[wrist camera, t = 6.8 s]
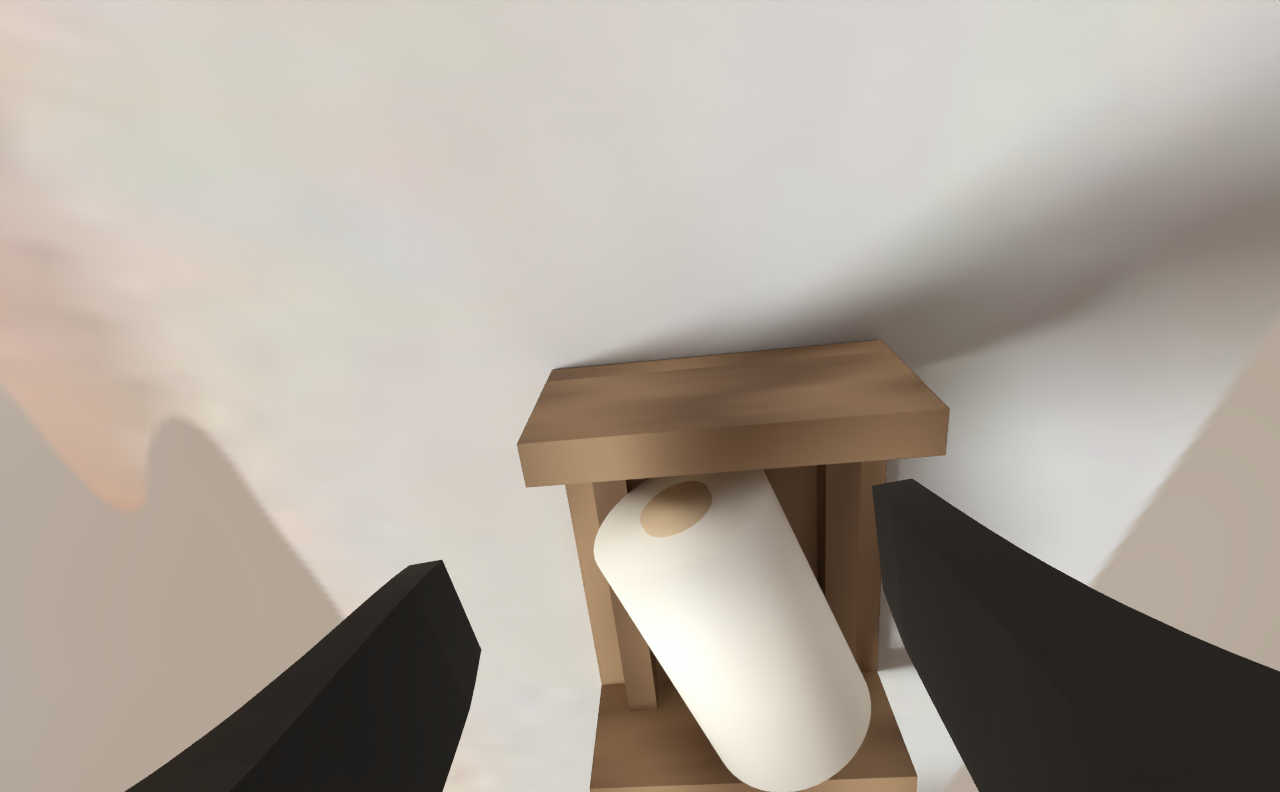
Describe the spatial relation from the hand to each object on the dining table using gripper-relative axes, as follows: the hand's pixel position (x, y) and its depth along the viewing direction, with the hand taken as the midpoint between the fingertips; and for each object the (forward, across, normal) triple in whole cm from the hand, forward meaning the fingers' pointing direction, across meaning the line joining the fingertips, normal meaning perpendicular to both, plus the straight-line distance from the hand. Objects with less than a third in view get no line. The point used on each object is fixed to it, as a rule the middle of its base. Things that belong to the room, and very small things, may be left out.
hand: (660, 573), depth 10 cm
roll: (+8, 0, +6) cm, 10 cm away
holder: (+10, -1, +7) cm, 12 cm away
